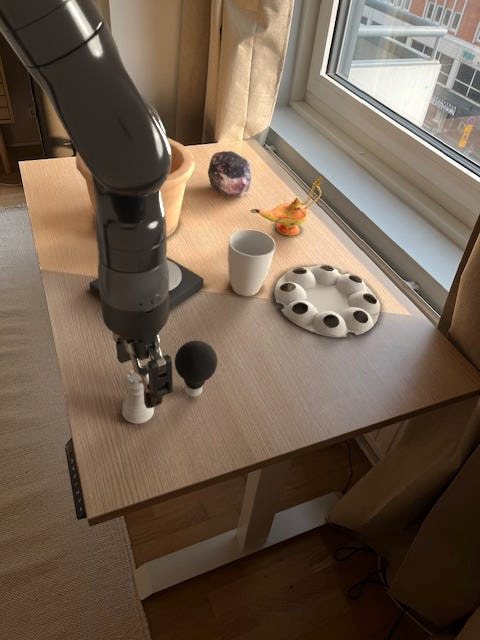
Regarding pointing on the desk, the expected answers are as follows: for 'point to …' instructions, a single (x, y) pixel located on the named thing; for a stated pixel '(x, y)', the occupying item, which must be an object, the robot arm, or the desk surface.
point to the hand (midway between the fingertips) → (139, 381)
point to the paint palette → (327, 300)
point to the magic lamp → (289, 213)
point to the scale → (172, 283)
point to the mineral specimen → (229, 173)
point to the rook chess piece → (135, 400)
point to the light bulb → (195, 365)
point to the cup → (249, 260)
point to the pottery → (169, 190)
